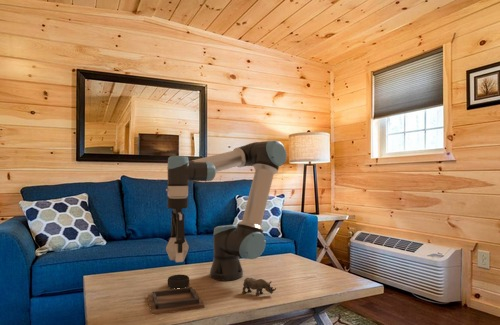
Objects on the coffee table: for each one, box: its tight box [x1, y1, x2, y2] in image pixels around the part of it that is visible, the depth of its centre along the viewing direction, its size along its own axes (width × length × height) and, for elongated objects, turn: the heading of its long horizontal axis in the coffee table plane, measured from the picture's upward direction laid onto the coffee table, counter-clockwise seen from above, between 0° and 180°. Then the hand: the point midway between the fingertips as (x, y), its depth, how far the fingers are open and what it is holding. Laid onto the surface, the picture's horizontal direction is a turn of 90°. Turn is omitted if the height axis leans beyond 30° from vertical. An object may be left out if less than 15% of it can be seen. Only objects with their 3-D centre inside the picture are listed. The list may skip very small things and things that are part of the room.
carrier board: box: [147, 286, 205, 315], centre depth 129 cm, size 18×18×2 cm
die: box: [165, 237, 190, 261], centre depth 129 cm, size 8×9×10 cm
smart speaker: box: [167, 274, 190, 289], centre depth 147 cm, size 9×9×4 cm
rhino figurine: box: [241, 277, 277, 296], centre depth 137 cm, size 4×14×6 cm, turn 68°
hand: (177, 258), depth 129 cm, fingers closed on die, 9 cm apart
